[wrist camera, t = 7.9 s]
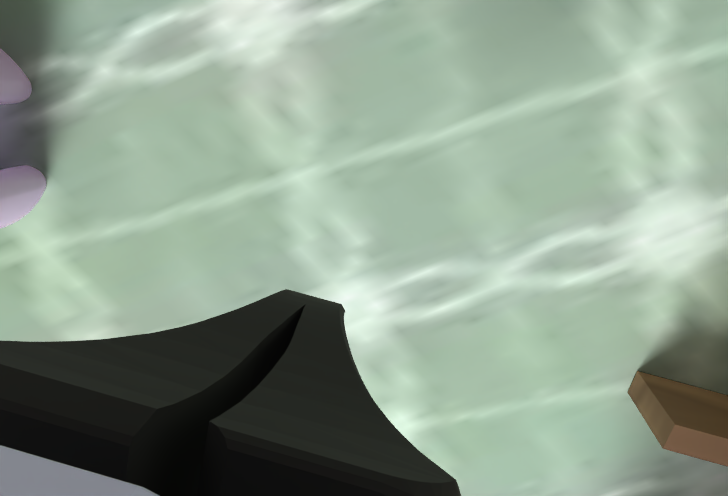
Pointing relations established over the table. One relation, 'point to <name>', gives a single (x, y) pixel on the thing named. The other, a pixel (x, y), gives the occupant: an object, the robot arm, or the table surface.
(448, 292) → the table surface
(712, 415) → the frame
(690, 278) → the table surface
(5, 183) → the clip
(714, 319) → the table surface
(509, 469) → the table surface
